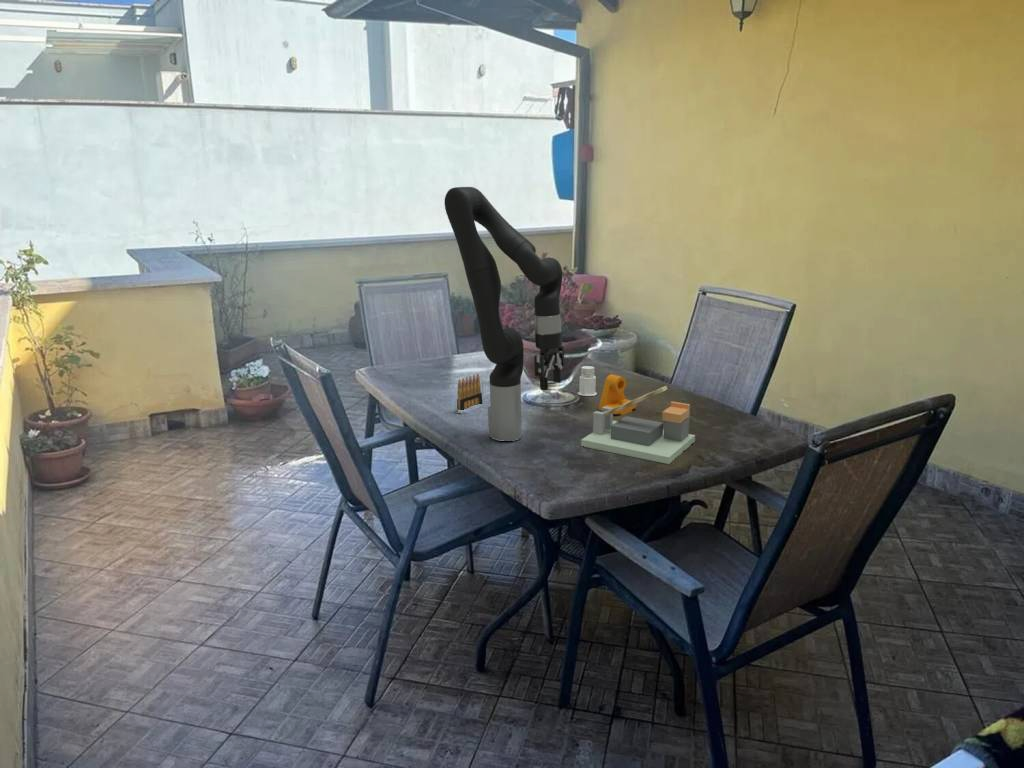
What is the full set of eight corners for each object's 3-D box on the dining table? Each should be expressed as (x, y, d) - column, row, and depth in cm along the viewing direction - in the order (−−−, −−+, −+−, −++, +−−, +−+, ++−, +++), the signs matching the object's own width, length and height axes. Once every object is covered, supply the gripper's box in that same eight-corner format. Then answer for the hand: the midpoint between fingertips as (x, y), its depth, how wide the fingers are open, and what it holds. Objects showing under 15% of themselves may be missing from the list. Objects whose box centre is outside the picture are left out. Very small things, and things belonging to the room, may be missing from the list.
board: (581, 446, 209) (581, 418, 206) (611, 426, 225) (612, 400, 222) (668, 464, 194) (670, 434, 192) (694, 441, 210) (696, 414, 208)
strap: (600, 419, 213) (597, 414, 213) (604, 416, 215) (602, 412, 215) (664, 392, 199) (661, 387, 199) (668, 389, 201) (665, 384, 201)
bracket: (615, 417, 233) (616, 381, 230) (599, 412, 239) (599, 377, 235) (637, 409, 240) (637, 375, 237) (620, 405, 245) (621, 371, 242)
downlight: (591, 398, 253) (592, 370, 251) (573, 395, 257) (574, 368, 254) (600, 393, 260) (601, 366, 258) (582, 390, 263) (583, 364, 261)
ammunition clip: (461, 414, 239) (459, 380, 236) (457, 413, 241) (455, 379, 237) (482, 406, 247) (481, 373, 244) (478, 405, 248) (477, 372, 245)
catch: (662, 420, 205) (662, 407, 204) (671, 413, 210) (671, 401, 209) (680, 423, 202) (681, 410, 201) (689, 416, 207) (689, 404, 206)
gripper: (547, 325, 208) (550, 379, 213) (524, 334, 197) (527, 391, 201) (571, 326, 205) (573, 380, 209) (548, 336, 193) (551, 393, 197)
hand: (551, 386), depth 205 cm, fingers open, 8 cm apart
